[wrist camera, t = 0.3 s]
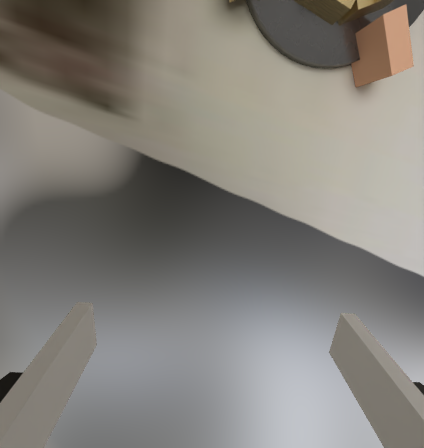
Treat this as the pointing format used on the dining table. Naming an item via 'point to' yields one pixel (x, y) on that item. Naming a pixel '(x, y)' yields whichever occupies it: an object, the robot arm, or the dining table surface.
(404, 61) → the block
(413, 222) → the dining table surface
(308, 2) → the gold octagonal ring
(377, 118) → the dining table surface
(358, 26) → the plate
